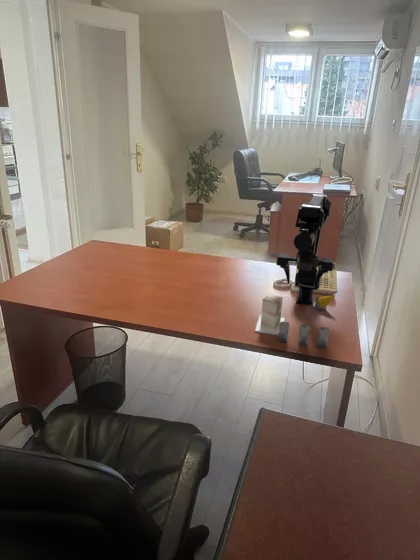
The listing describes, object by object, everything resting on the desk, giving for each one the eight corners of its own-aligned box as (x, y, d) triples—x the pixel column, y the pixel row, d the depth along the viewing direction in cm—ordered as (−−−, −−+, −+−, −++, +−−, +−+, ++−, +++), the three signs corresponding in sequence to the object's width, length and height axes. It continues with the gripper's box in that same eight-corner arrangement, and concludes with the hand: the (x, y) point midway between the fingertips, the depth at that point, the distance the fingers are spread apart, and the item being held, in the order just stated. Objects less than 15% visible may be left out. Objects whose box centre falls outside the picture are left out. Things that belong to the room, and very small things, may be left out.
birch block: (267, 319, 142) (269, 293, 138) (280, 323, 140) (282, 297, 136) (260, 324, 138) (262, 298, 134) (273, 328, 136) (276, 302, 132)
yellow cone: (317, 304, 156) (339, 293, 150) (318, 315, 153) (340, 304, 147) (308, 298, 154) (330, 286, 148) (309, 309, 151) (331, 297, 145)
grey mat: (259, 315, 146) (259, 314, 145) (284, 319, 144) (284, 317, 143) (255, 331, 135) (255, 330, 135) (281, 335, 133) (281, 334, 133)
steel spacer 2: (317, 342, 130) (319, 326, 127) (326, 344, 129) (329, 327, 127) (317, 347, 127) (319, 331, 124) (326, 348, 126) (329, 332, 124)
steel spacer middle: (298, 339, 131) (300, 323, 128) (307, 341, 130) (309, 325, 128) (297, 344, 128) (300, 328, 126) (307, 346, 127) (309, 329, 125)
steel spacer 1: (278, 336, 132) (280, 321, 130) (287, 338, 132) (289, 322, 129) (277, 341, 130) (279, 325, 127) (286, 342, 129) (288, 326, 127)
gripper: (277, 246, 129) (272, 290, 135) (336, 252, 125) (329, 297, 131) (280, 237, 139) (276, 278, 145) (335, 242, 135) (328, 284, 141)
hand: (301, 284), depth 140 cm, fingers open, 9 cm apart
